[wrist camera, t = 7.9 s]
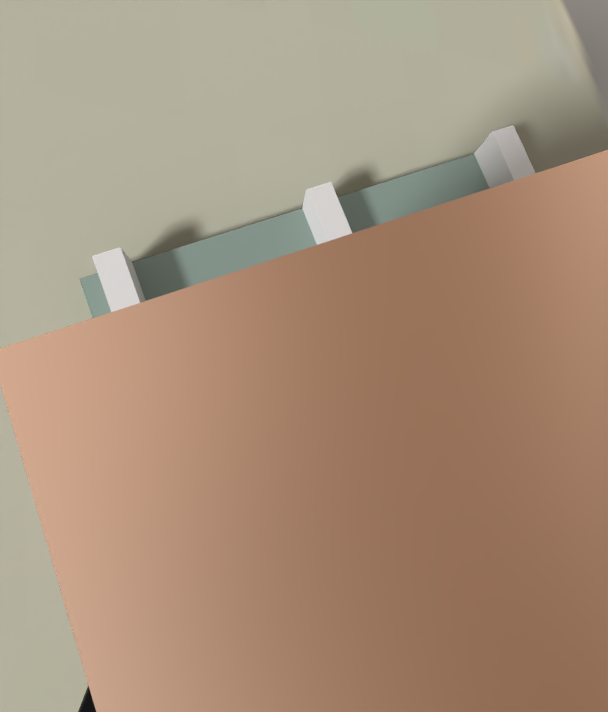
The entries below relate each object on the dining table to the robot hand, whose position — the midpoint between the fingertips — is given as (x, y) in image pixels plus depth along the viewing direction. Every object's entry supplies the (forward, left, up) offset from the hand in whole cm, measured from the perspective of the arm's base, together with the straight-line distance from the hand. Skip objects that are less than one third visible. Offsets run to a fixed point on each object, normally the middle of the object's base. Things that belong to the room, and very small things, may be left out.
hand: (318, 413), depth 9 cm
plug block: (0, +1, -7) cm, 7 cm away
